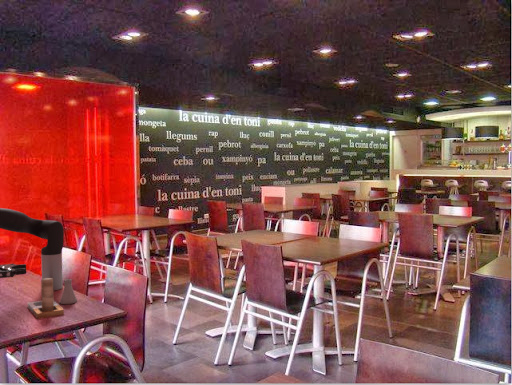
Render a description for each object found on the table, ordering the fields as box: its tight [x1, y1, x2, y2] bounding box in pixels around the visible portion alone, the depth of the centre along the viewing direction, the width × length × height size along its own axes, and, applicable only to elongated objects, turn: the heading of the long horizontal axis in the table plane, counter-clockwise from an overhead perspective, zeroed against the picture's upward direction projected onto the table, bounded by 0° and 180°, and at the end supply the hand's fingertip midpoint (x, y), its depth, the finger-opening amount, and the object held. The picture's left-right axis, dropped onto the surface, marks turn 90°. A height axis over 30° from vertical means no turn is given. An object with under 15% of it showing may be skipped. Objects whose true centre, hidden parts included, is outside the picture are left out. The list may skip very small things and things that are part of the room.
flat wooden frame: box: [27, 299, 65, 320], centre depth 206 cm, size 19×10×2 cm, turn 35°
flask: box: [59, 278, 78, 305], centre depth 219 cm, size 7×7×10 cm
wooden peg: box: [40, 278, 55, 312], centre depth 202 cm, size 4×4×14 cm
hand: (26, 268), depth 201 cm, fingers open, 8 cm apart
